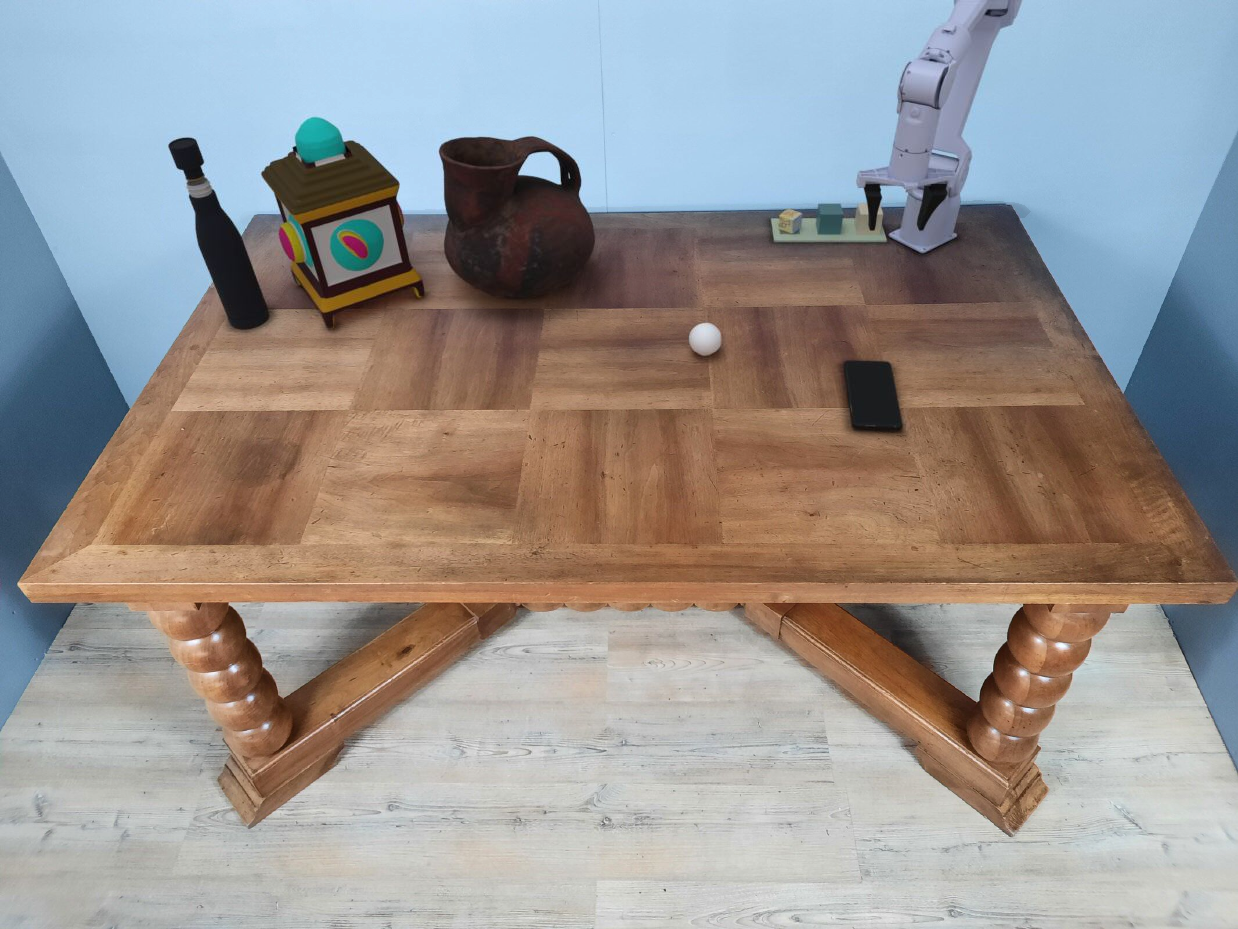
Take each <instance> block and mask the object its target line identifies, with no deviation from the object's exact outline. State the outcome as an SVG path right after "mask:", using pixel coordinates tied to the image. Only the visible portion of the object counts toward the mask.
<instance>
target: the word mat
mask: <svg viewBox="0 0 1238 929" xmlns="http://www.w3.org/2000/svg"><path fill="white" fill-rule="evenodd" d="M854 221H855V217H843V221H842V227H841V233H840V235H818V232H817V228H816V217H815V218H814V217H811V218H809V217H806V218H805V217H802V224H801V228H800V229H798V230H797V231H796V232H795V233H794V234H791V233H788V232H785V231H782V230H780V229H778V228H779V217H777V218H772V217H771V218H770V225H771V230H772V237H773V243H887V242H888V239H887V236H886V233H885V229H884V228H883V224H882V225H881V230H880V234H857V232H856V228H855V225H854Z"/></svg>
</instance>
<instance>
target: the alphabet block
mask: <svg viewBox="0 0 1238 929" xmlns="http://www.w3.org/2000/svg"><path fill="white" fill-rule="evenodd" d="M778 218H779V228H778V229H780V230H782V231H785V232H788V233H791V234H794V233H795V232H796V231H797V230H798V229H800V228H801V224H802V218H803V212H800V211H796V210H794V209H792V208H791V209H790V208H787V209H785V210H784V211H783V212H781V213H780V214H779V217H778Z"/></svg>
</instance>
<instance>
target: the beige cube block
mask: <svg viewBox="0 0 1238 929" xmlns="http://www.w3.org/2000/svg"><path fill="white" fill-rule="evenodd" d="M854 218H855V221H854V225H855V228H856V232H857V234H880V230H881V225H882V226H883V219H884V212H883V209H882V205H881V204H880V206H879V210H878V214H877V221H876V227H875V231H870V229H869V226H868V220H869V217H868V206H867V203H857V204H856V210H855V216H854Z"/></svg>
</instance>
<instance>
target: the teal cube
mask: <svg viewBox="0 0 1238 929" xmlns="http://www.w3.org/2000/svg"><path fill="white" fill-rule="evenodd" d="M844 215H845V214H844V211H843V208H842V204H841V203H818V204H817V210H816V217H815V218H816V228H817V232H818V235H840V233H841V227H842V221H843V218H844Z"/></svg>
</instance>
